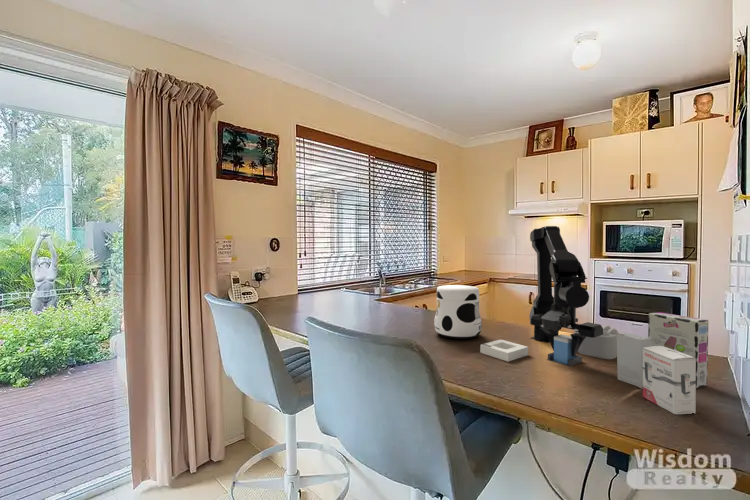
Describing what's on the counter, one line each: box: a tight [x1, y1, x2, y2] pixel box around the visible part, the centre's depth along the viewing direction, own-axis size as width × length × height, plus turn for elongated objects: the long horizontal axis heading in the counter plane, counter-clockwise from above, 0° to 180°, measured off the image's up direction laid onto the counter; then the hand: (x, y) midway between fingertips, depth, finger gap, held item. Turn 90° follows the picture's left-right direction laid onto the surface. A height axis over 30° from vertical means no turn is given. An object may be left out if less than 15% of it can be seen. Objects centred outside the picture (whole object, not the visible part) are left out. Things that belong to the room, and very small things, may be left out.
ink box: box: [642, 346, 697, 415], centre depth 78 cm, size 9×5×12 cm, turn 5°
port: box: [479, 338, 529, 362], centre depth 112 cm, size 10×10×3 cm
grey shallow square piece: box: [546, 351, 583, 367], centre depth 105 cm, size 7×7×2 cm
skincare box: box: [616, 332, 651, 390], centre depth 89 cm, size 6×4×12 cm
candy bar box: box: [647, 311, 709, 389], centre depth 92 cm, size 11×5×16 cm, turn 22°
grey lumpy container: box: [577, 324, 620, 360], centre depth 113 cm, size 10×13×9 cm
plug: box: [553, 334, 575, 364], centre depth 105 cm, size 4×4×7 cm
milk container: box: [433, 284, 483, 340], centre depth 134 cm, size 17×17×18 cm
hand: (564, 353), depth 105 cm, fingers open, 5 cm apart
